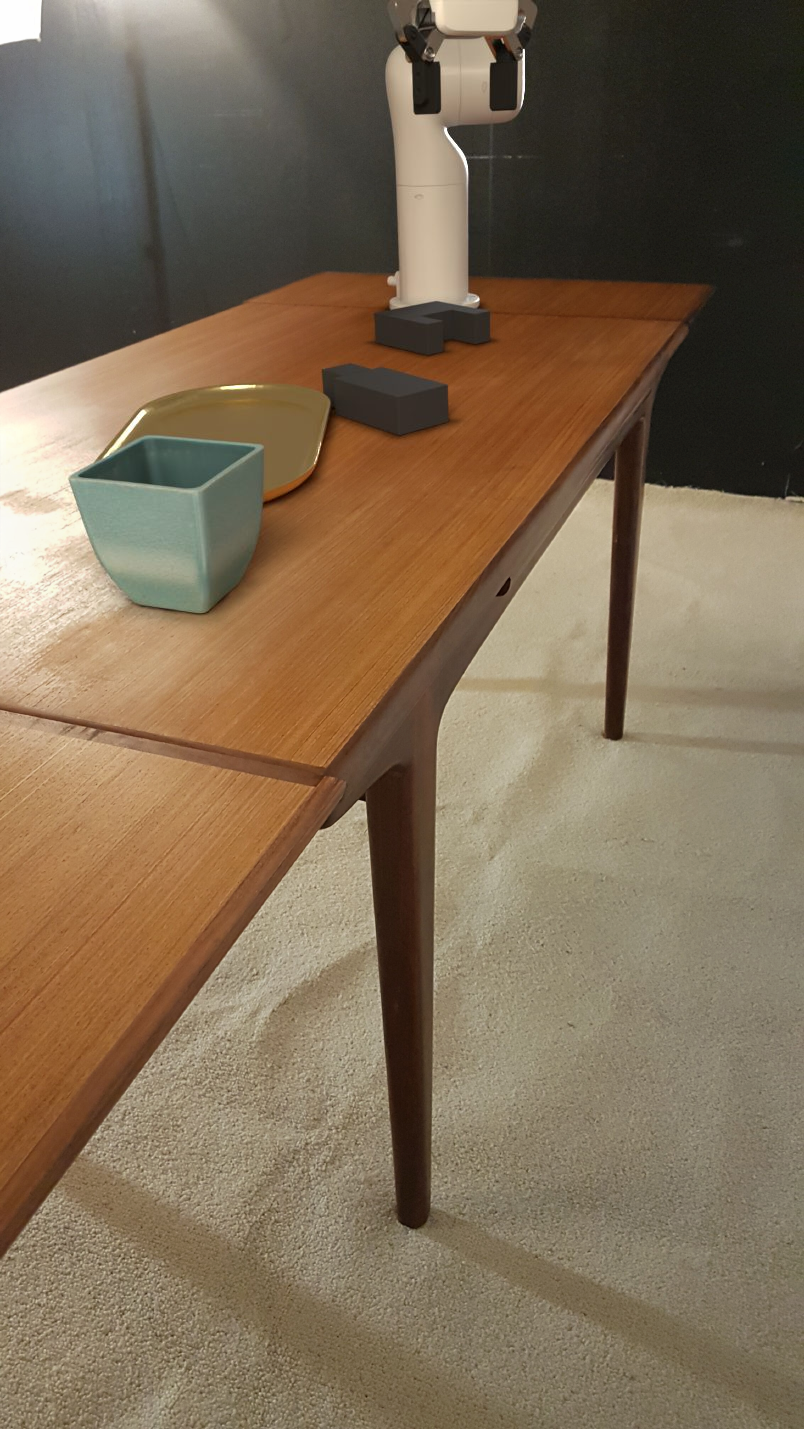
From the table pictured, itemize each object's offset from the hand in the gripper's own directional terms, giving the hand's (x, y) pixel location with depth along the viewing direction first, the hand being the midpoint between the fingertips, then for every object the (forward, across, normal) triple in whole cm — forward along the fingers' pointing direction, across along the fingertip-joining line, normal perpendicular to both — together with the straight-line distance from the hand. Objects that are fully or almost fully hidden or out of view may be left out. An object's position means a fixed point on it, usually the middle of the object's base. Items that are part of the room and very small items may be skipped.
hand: (466, 112), depth 96 cm
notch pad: (+24, -10, -17) cm, 32 cm away
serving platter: (+25, +31, +1) cm, 40 cm away
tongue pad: (+25, +14, +2) cm, 29 cm away
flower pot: (+26, +48, +26) cm, 61 cm away
